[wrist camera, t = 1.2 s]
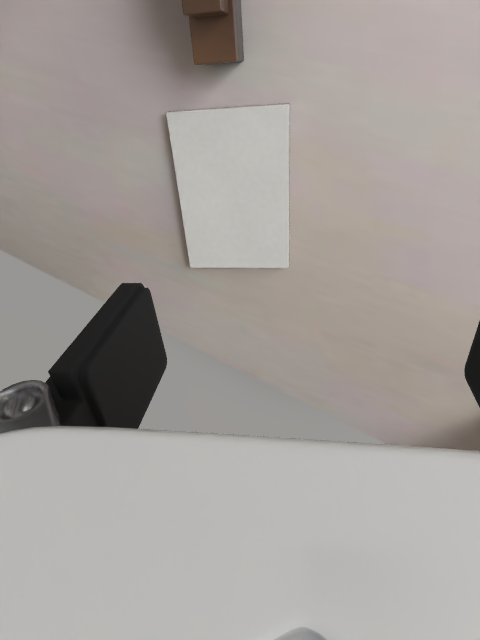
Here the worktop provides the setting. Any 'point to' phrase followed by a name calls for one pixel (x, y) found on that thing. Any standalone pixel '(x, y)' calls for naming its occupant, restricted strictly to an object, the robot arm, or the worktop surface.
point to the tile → (233, 184)
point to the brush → (215, 30)
